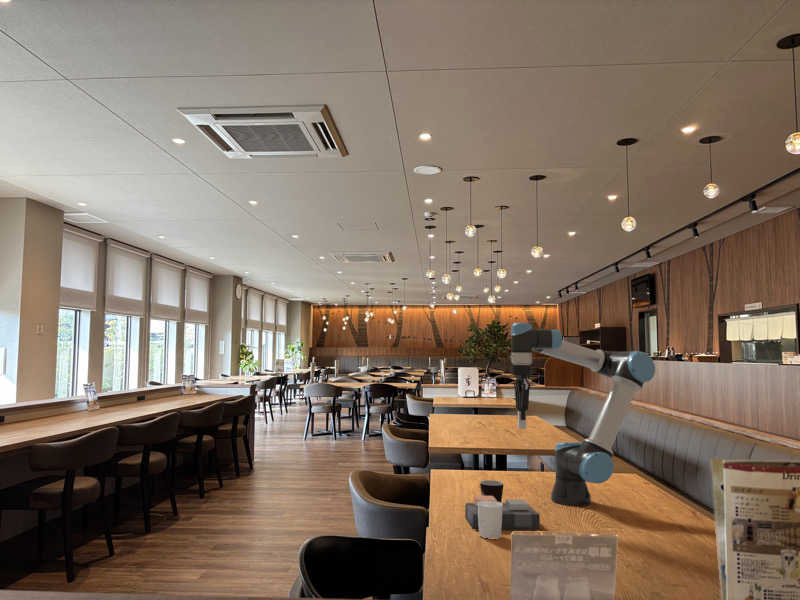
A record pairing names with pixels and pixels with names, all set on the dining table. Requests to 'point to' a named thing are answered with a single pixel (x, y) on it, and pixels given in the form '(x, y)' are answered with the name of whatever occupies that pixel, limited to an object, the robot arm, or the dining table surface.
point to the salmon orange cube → (483, 499)
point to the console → (507, 518)
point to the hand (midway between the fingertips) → (522, 428)
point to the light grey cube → (517, 504)
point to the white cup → (490, 519)
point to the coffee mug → (492, 489)
